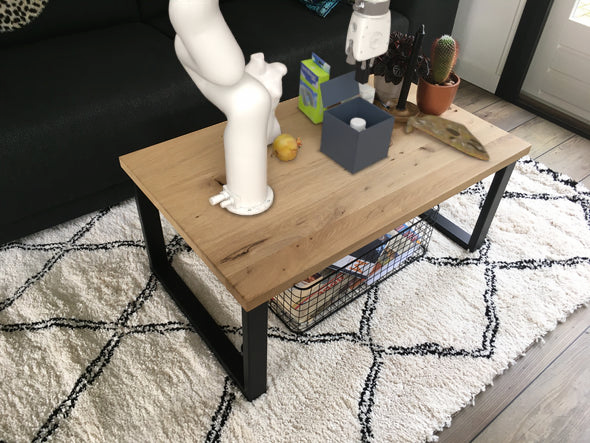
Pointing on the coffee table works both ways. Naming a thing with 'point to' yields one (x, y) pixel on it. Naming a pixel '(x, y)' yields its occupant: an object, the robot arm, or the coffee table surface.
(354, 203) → the coffee table surface
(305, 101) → the box
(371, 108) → the carton
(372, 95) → the ink box
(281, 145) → the fruit
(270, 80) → the torso sculpture
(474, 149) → the decorative stone
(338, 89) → the flap
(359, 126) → the pill bottle
